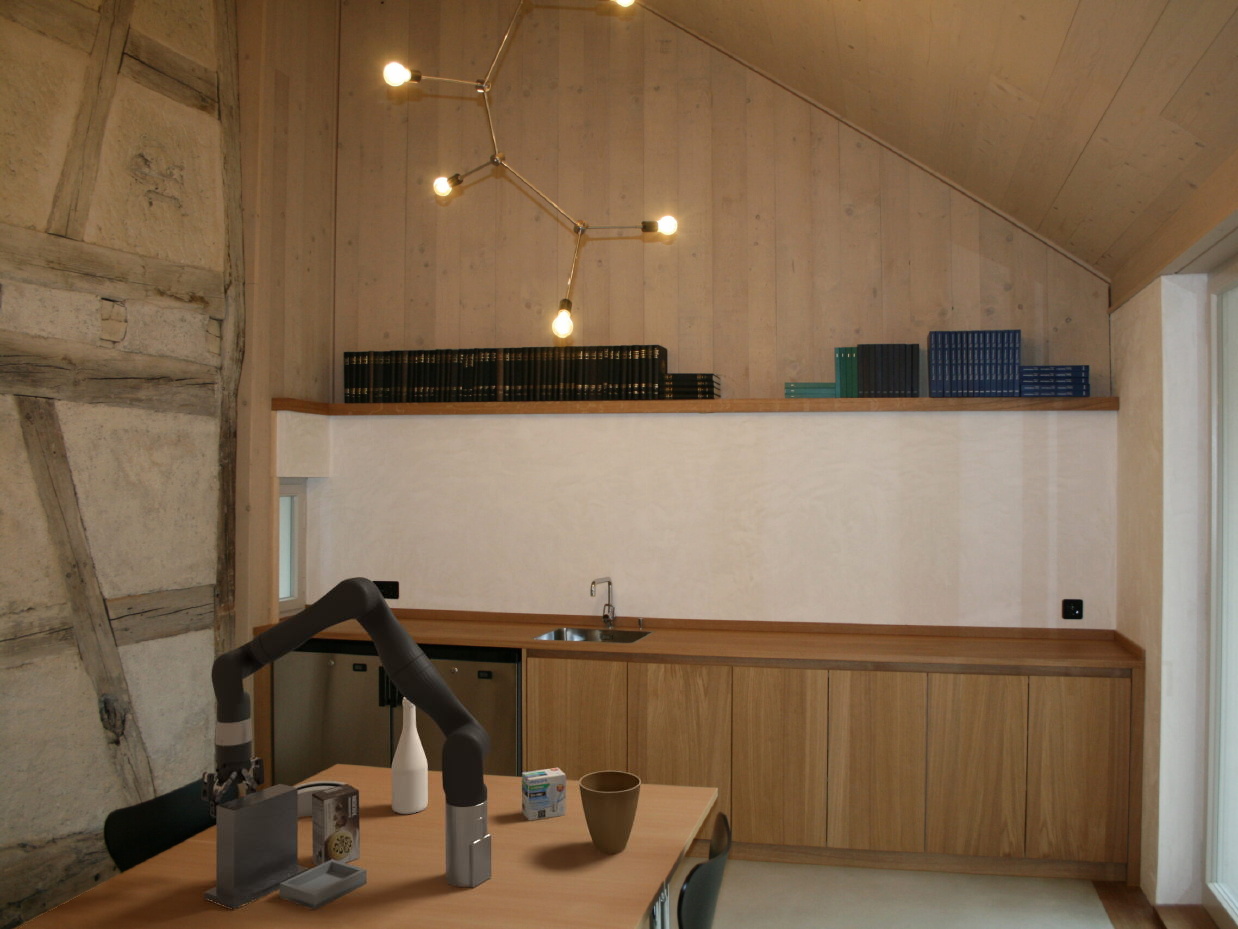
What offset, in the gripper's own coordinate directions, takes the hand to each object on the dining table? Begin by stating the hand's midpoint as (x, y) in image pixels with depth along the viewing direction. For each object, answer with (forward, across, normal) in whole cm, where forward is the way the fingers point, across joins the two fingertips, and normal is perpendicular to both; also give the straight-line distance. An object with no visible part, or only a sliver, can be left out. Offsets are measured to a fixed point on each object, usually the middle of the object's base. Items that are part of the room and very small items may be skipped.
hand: (233, 811), depth 198 cm
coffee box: (+14, +17, -14) cm, 26 cm away
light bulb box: (+14, +65, -39) cm, 77 cm away
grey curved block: (+15, +35, +14) cm, 40 cm away
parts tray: (+14, +5, -24) cm, 28 cm away
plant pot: (+14, +55, -66) cm, 87 cm away
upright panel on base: (+14, -1, -10) cm, 17 cm away
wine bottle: (+14, +50, -5) cm, 52 cm away
